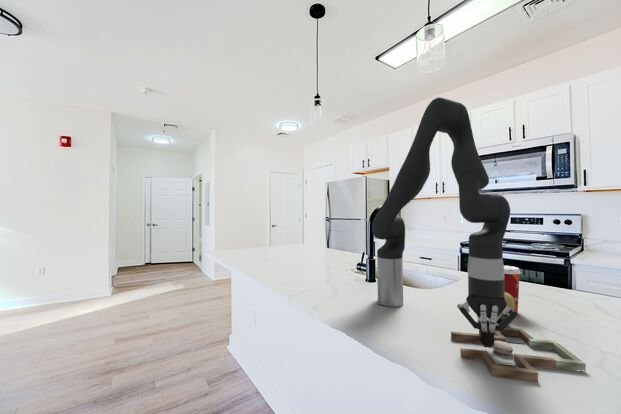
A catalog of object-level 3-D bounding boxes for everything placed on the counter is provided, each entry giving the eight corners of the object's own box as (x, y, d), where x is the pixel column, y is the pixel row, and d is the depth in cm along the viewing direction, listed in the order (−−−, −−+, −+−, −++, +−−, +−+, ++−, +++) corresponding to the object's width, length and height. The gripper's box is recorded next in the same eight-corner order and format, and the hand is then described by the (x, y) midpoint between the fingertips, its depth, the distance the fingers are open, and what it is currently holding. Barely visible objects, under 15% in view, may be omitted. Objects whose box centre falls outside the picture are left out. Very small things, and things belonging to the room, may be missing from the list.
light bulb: (517, 331, 78) (516, 296, 78) (490, 326, 81) (489, 292, 81) (514, 323, 83) (513, 290, 83) (489, 319, 86) (488, 287, 86)
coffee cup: (527, 316, 88) (526, 270, 88) (498, 315, 90) (497, 269, 90) (513, 307, 96) (512, 265, 96) (487, 306, 98) (486, 264, 98)
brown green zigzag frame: (470, 373, 58) (470, 365, 58) (445, 328, 80) (445, 322, 80) (609, 391, 52) (609, 381, 52) (541, 337, 74) (541, 330, 74)
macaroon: (488, 351, 67) (488, 340, 67) (498, 345, 70) (497, 335, 70) (508, 358, 63) (508, 347, 63) (518, 352, 66) (517, 342, 66)
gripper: (459, 277, 65) (461, 350, 65) (524, 280, 62) (526, 357, 62) (452, 270, 73) (453, 336, 72) (509, 273, 69) (511, 342, 69)
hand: (486, 345), depth 67 cm, fingers closed
